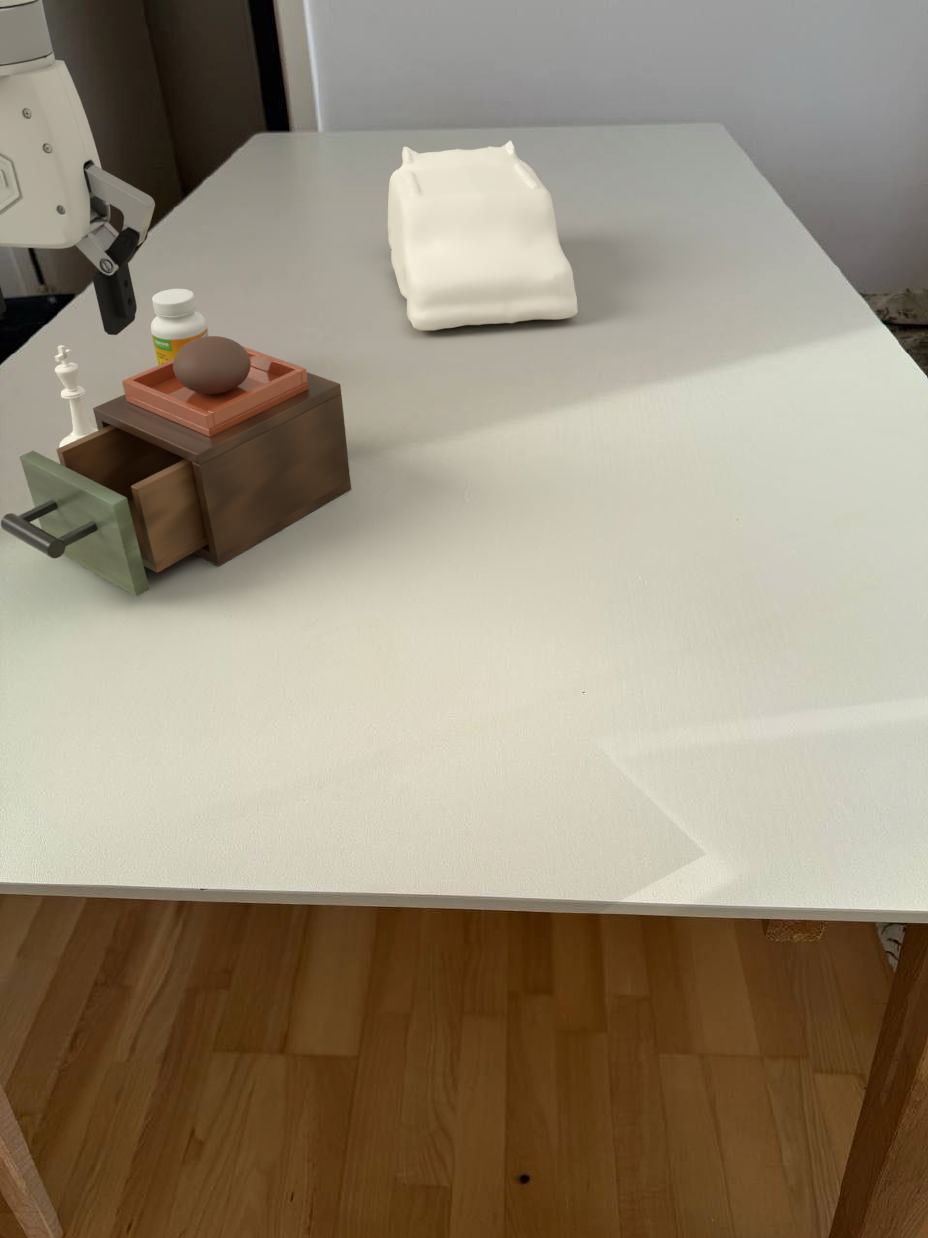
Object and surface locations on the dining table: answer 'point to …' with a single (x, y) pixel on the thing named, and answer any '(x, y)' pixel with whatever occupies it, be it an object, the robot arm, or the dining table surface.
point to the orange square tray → (216, 411)
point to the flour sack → (476, 240)
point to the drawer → (112, 507)
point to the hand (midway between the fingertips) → (55, 323)
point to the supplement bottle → (175, 322)
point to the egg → (211, 365)
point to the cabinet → (254, 463)
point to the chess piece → (72, 396)
